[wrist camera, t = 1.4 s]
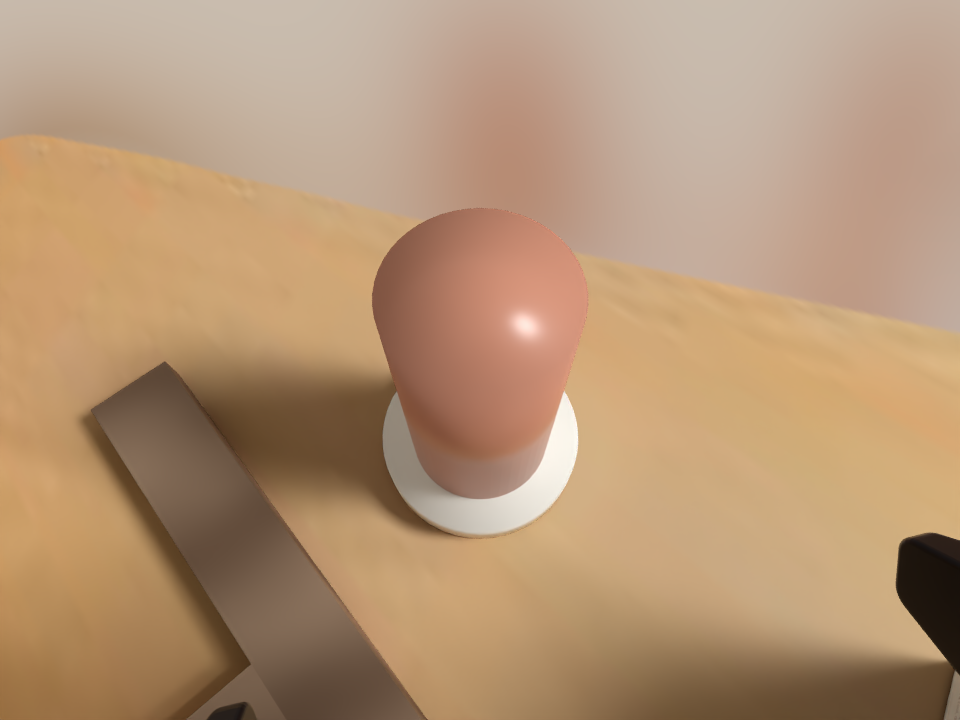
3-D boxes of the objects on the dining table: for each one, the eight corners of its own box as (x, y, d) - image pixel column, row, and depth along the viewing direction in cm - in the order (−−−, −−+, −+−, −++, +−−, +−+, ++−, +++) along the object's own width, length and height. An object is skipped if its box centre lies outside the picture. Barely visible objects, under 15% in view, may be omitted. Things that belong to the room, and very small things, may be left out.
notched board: (434, 729, 19) (431, 732, 18) (-141, 1293, 14) (-192, 1345, 13) (179, 374, 24) (165, 361, 23) (-303, 695, 19) (-349, 697, 18)
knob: (535, 570, 21) (580, 497, 12) (354, 493, 22) (261, 371, 13) (597, 396, 24) (673, 224, 14) (433, 336, 25) (405, 140, 16)
